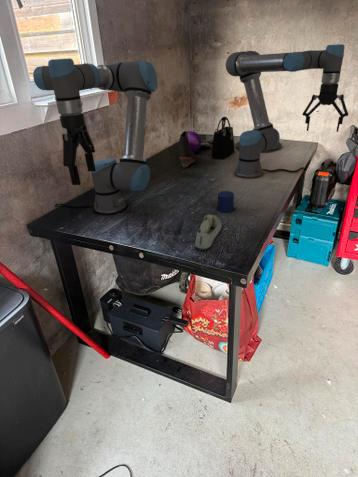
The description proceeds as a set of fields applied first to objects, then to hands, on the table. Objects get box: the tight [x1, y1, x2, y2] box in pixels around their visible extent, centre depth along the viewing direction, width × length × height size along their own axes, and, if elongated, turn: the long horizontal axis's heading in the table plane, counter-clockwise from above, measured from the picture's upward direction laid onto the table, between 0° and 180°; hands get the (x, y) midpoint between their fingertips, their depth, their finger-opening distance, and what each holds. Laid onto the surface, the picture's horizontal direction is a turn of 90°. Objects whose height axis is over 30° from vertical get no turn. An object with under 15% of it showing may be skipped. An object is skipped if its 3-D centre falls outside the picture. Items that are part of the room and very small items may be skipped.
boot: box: [178, 130, 197, 169], centre depth 209 cm, size 9×24×20 cm, turn 168°
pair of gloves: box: [199, 134, 214, 149], centre depth 251 cm, size 30×26×5 cm
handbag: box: [211, 116, 236, 160], centre depth 219 cm, size 21×9×25 cm, turn 148°
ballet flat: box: [194, 214, 223, 251], centre depth 128 cm, size 8×24×8 cm, turn 163°
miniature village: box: [235, 141, 282, 154], centre depth 237 cm, size 32×35×9 cm
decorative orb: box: [178, 130, 201, 154], centre depth 230 cm, size 15×15×15 cm
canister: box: [217, 190, 235, 213], centre depth 149 cm, size 7×7×7 cm
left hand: (84, 177), depth 115 cm, fingers open, 13 cm apart
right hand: (322, 130), depth 162 cm, fingers open, 13 cm apart
